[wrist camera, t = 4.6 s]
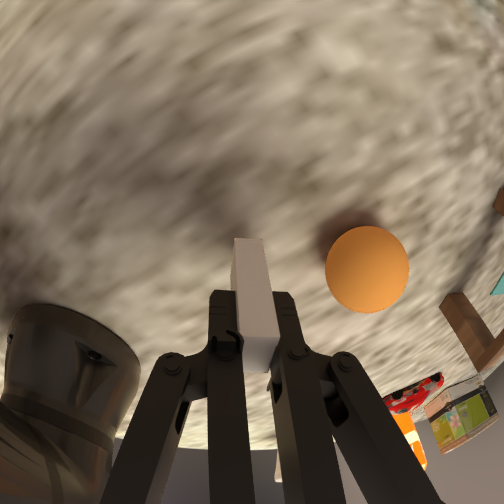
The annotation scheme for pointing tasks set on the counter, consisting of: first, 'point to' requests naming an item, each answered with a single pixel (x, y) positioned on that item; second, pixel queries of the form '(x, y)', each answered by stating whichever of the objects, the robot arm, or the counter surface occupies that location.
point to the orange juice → (411, 436)
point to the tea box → (461, 413)
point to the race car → (413, 395)
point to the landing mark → (499, 287)
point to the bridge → (474, 322)
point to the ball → (367, 269)
